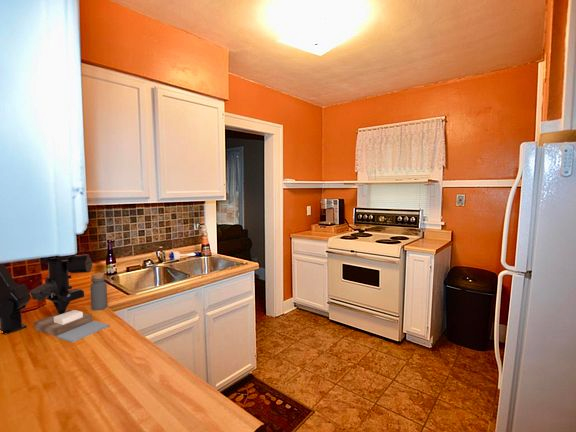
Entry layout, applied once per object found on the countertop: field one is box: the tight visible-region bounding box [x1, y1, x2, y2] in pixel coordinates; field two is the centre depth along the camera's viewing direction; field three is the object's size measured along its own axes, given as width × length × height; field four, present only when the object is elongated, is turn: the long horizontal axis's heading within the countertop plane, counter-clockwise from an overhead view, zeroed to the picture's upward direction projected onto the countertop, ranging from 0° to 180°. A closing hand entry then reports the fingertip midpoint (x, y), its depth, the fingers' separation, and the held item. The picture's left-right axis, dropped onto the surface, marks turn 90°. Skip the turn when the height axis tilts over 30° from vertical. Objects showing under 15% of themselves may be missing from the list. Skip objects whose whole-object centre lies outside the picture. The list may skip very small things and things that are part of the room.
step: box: [33, 309, 93, 337], centre depth 110 cm, size 14×12×3 cm
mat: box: [56, 320, 110, 343], centre depth 106 cm, size 8×13×1 cm, turn 158°
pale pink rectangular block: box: [54, 309, 84, 325], centre depth 108 cm, size 5×7×2 cm
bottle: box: [89, 271, 108, 311], centre depth 127 cm, size 6×6×15 cm
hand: (61, 314), depth 110 cm, fingers closed
